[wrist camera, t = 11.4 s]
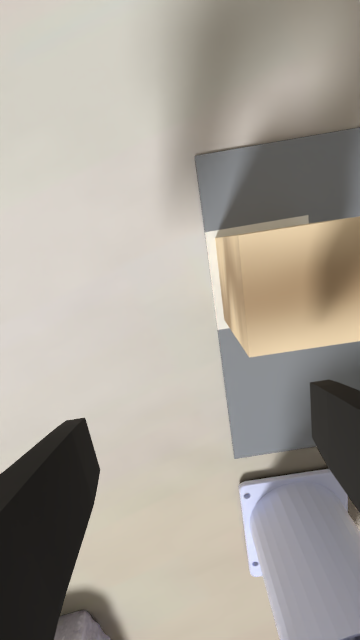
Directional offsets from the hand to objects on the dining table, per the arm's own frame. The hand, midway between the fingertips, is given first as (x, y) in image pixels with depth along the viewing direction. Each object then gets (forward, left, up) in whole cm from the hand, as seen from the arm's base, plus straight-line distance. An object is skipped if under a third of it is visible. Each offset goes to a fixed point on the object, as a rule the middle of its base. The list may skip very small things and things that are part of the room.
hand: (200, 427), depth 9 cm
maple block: (+3, -5, -9) cm, 11 cm away
